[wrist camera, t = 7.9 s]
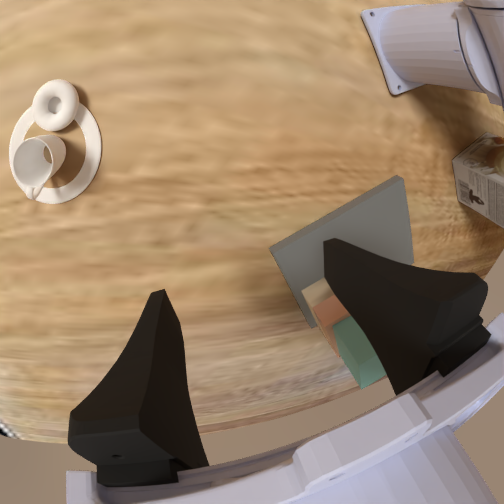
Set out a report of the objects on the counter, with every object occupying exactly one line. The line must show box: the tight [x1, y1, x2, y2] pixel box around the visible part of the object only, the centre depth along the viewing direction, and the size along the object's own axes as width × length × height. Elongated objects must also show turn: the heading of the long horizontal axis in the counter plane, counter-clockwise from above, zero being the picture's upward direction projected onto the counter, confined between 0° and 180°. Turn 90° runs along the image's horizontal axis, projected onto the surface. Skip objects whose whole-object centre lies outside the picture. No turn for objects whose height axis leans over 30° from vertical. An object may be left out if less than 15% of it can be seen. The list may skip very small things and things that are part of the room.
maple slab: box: [301, 278, 334, 338], centre depth 27 cm, size 6×6×2 cm
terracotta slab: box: [313, 295, 351, 358], centre depth 25 cm, size 6×6×2 cm
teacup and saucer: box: [9, 79, 101, 204], centre depth 14 cm, size 9×8×4 cm
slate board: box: [269, 175, 414, 329], centre depth 27 cm, size 14×11×1 cm
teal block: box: [332, 316, 387, 389], centre depth 22 cm, size 4×4×4 cm
